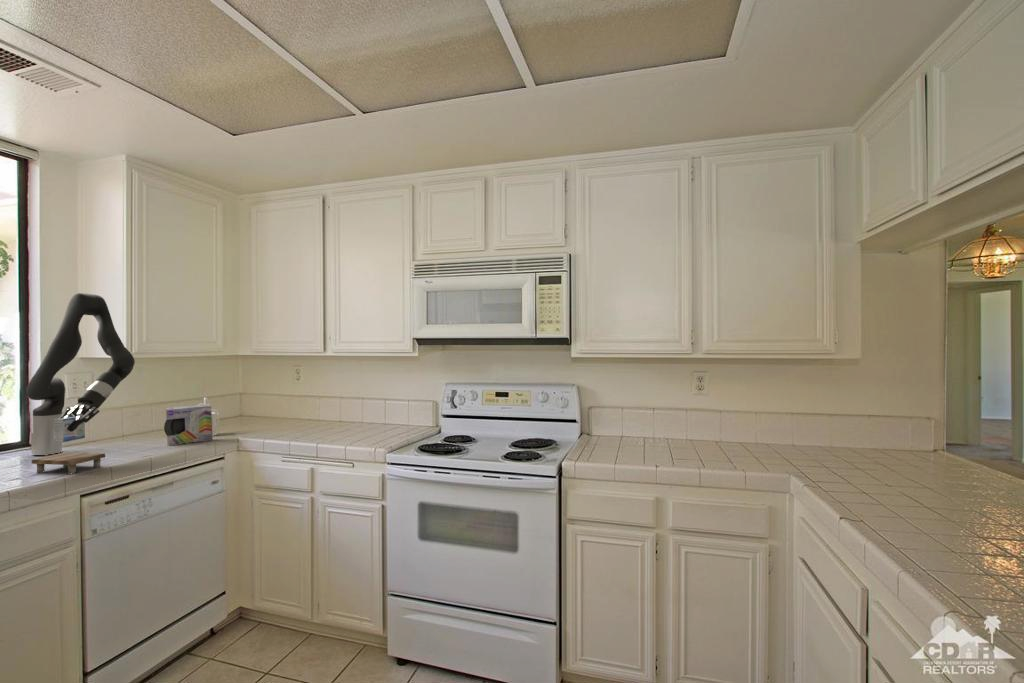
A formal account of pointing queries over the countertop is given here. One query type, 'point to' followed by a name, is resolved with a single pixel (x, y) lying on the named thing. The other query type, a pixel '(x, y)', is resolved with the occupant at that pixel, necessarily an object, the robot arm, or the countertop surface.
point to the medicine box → (65, 435)
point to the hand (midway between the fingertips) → (64, 430)
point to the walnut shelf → (68, 460)
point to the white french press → (206, 402)
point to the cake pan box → (188, 424)
